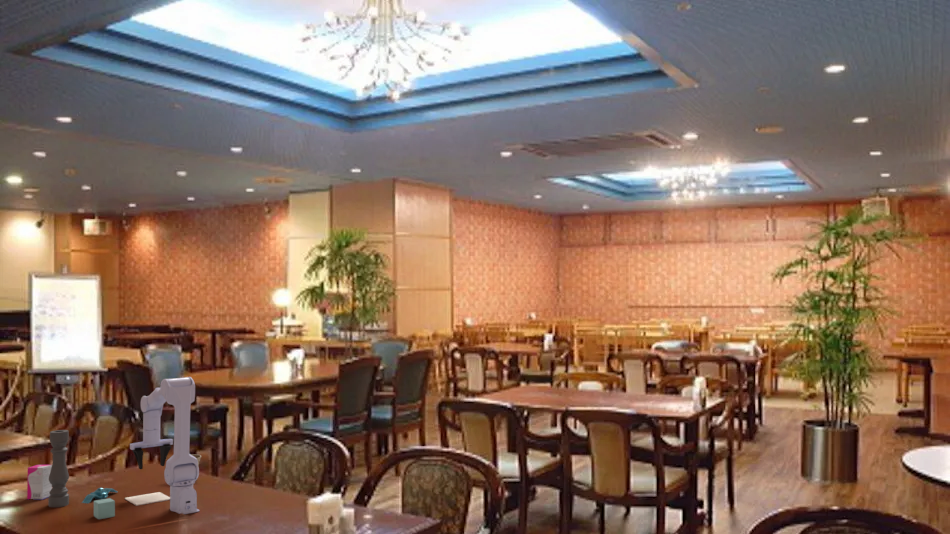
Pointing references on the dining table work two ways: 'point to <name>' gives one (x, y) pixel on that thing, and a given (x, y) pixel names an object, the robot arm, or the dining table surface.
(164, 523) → the dining table surface
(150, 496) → the mat
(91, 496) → the flying bird
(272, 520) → the dining table surface
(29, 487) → the supplement box
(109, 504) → the teal cube
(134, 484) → the dining table surface
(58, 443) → the candle holder
